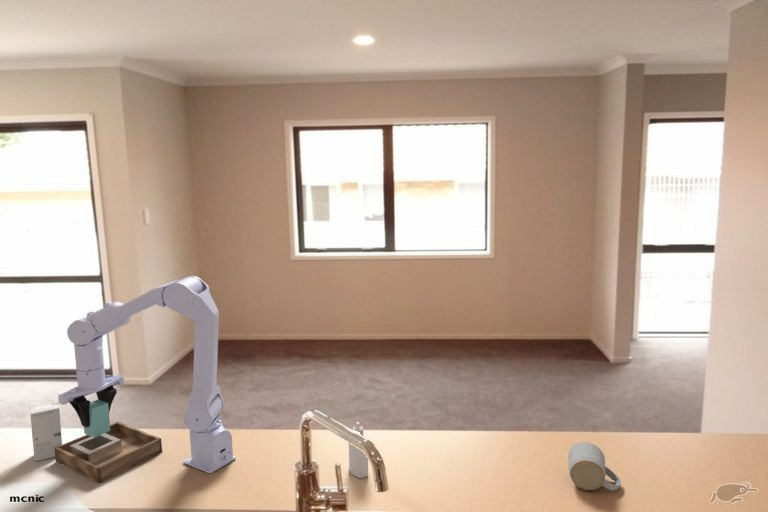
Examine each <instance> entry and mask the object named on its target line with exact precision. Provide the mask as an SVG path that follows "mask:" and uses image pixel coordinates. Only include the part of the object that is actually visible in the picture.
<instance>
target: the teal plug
mask: <svg viewBox="0 0 768 512" xmlns="http://www.w3.org/2000/svg"><path fill="white" fill-rule="evenodd" d="M89 419H90V426H89V427H84V426H83V432H84V433H83V434H85V435H89V436H91V437H94V438H95V437H97V436H99V435H102V434H104V433H106V432H109V431H110V425H111V422H110V412H109V407H108V403H107V402H104V401H101V400H99V399H98V398H97V399H95V400H93V401H91V402H90V407H89Z"/></svg>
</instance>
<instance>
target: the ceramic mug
mask: <svg viewBox="0 0 768 512" xmlns="http://www.w3.org/2000/svg"><path fill="white" fill-rule="evenodd" d="M568 472H569V476H570V479H571V481H572V482H573V483H574V485H575V486H576V487H578V488H579V489H581V490H584V491H589V490H592V491H596V490H598V489H600V488H601V487H603V488H604V489H607V490H609V491H611V492H615V491H614V490H616V491H618V490H619V488H620V486H621V485H622V482H621V479H620V478H619V476H618V475H617V473H615V472H614V471H613V470H612V469H610V468H609V467H607V466H606V458H605V454H604V453H603V451H602V450H601V448H600V447H599V446H597V445H596V444H594V443H592V442H588V441H581V442H580V441H579V442H576V443H574V444H573V445H572V446H571V448H570V449H569V451H568ZM606 476H608V478H609V479H611V480H612V481H613V480H614V481H615V482H614V481H613V482H614V484H613V483H611V482H609V481H607V480H606ZM615 483H616V484H615ZM617 489H618V490H617Z"/></svg>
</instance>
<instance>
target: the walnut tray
mask: <svg viewBox="0 0 768 512" xmlns="http://www.w3.org/2000/svg"><path fill="white" fill-rule="evenodd" d="M106 434H108V435H111V436H113V437H116V438H118V439H120V440H121V444H122V452H120V453H118V454H115V455H113V456H111V457H109V458H107V459H105V460H103V461H100V462H98V463H96V464H92V463H90V462H88V461H86V460H84V459H81V458H79V457H77V456H75V455H73V454H71V453H70V445H72V444H75V443H77V442H79V441H82V440H84V439H87V438H89V437H91V436H89V435H87V434H85V435H82V436H80V437H78V438H75V439H73V440H70V441H68V442H66V443H64V444H63V443H62V445H60V446H58V447H56V448H54V449H55V463H57V462H58V464H59V463H60V465H61V464H63V465H64V466H63V465H62V466H63V467H65V466H66V468H67V467H68V468H67V469H69V468H70V470H71V469H72V472H73V471H74V472H76V473H78V474H80V475H81V476H83V477H86V478H87V479H90V480H91V481H94V482H95V483H97V484H101V483H103V482H104V481H105V482H106V481H107V480H109V479H110V478H113V477H114V476H117V475H119V474H121V473H123V472H124V471H125V472H126V471H127V470H129V469H131V468H133V467H135V466H137V465H138V464H141V463H144V462H145V461H147V460H149V459H151V458H153V457H155V456H156V455H160V454H161V453H163V446H162V445H163V443H162V442H163V441H162V438H160V437H159V436H156V435H154V434H151V433H148V432H146V431H142V430H140V429H138V428H135V427H132V426H130V425H127V424H124V423H121V422H119V421H117V422H114V423H112V424H111V423H110V431H109V432H106Z"/></svg>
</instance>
